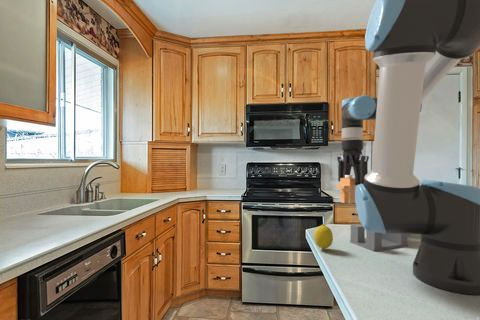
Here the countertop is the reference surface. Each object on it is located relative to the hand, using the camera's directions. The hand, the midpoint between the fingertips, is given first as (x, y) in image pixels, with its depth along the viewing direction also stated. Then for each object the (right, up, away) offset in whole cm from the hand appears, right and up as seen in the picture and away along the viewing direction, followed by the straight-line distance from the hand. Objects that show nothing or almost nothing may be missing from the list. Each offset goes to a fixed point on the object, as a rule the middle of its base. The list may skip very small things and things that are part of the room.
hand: (352, 201), depth 104 cm
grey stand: (+4, -13, -11) cm, 17 cm away
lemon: (-16, -13, -17) cm, 27 cm away
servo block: (0, 0, 0) cm, 0 cm away
